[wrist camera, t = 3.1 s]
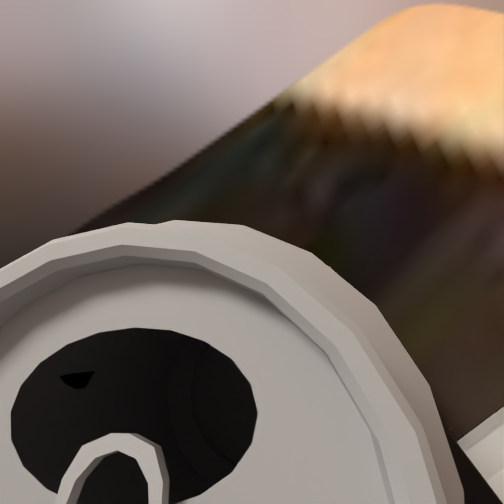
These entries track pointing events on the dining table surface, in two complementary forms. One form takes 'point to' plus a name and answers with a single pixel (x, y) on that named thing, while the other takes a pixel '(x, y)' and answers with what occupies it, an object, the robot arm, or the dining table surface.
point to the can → (206, 377)
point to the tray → (488, 451)
